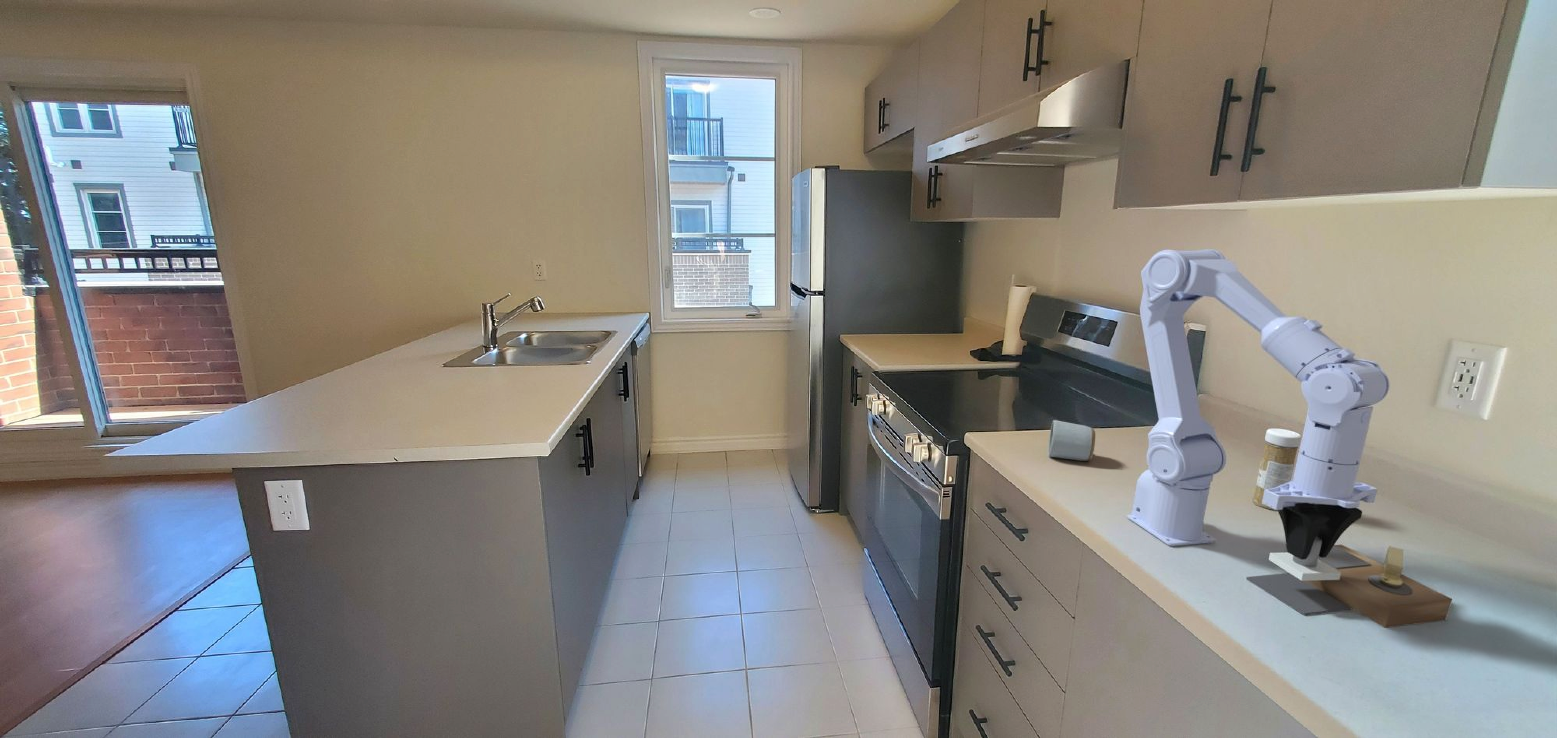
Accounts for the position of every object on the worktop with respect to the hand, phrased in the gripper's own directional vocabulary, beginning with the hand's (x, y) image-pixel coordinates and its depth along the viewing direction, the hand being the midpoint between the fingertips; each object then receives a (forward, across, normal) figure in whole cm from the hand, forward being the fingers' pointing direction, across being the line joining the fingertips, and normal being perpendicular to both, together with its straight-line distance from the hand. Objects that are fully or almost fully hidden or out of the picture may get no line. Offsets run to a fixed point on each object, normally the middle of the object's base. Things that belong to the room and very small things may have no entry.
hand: (1305, 554), depth 79 cm
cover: (+2, 0, 0) cm, 2 cm away
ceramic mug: (+6, 0, +49) cm, 50 cm away
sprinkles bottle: (+6, +20, +23) cm, 31 cm away
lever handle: (+2, +11, -3) cm, 11 cm away
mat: (+6, 0, 0) cm, 6 cm away
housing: (+6, +8, -1) cm, 10 cm away
